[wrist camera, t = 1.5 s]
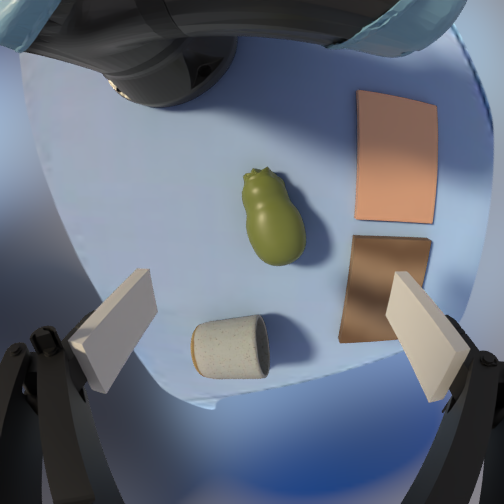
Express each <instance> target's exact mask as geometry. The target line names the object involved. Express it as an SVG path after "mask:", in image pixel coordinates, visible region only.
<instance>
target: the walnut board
mask: <svg viewBox="0 0 504 504" xmlns="http://www.w3.org/2000/svg"><path fill="white" fill-rule="evenodd" d="M430 246H431V240H429V239H428V238H418V237H393V236H362V235H353V239H352V249H351V258H350V266H349V274H348V282H347V289H346V296H345V302H344V308H343V314H342V320H341V326H340V331H339V336H338V339H339V342H340V343H356V342H373V341H386V340H397V339H398V338H397V336H396V334H395V332H394V330H393V328H392V326H391V325H390V323H389V321H388V319H387V317H386V316H385V315H386V311H387V307H388V303H389V298H390V294H391V289H392V284H393V280H394V275H395V272H401V271H407V272H408V273H409V274H410V275H411V276H412V277H413V278H414V280H415V281H416V282H417V283H418V284H419V285H420V286H421V288H422V284H423V280H424V276H425V271H426V267H427V262H428V257H429V251H430Z"/></svg>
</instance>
